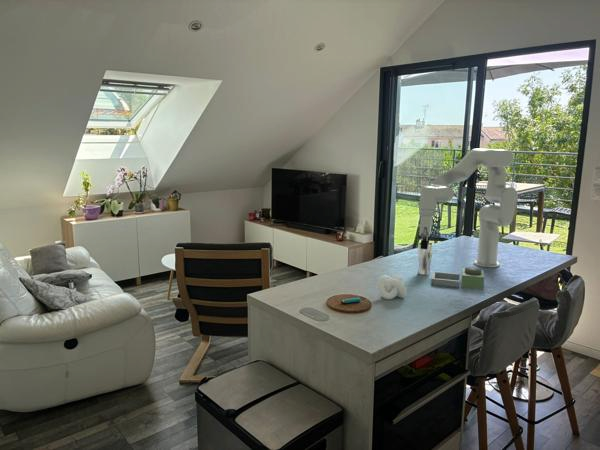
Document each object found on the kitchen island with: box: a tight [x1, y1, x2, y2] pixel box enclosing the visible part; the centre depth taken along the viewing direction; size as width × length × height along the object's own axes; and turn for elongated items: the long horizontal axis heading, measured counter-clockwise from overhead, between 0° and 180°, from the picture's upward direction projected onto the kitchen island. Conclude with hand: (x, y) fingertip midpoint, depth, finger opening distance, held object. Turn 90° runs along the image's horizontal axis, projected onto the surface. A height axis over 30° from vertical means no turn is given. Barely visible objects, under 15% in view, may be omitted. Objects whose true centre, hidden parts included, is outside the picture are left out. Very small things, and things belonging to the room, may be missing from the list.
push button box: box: [431, 266, 485, 291], centre depth 214 cm, size 12×22×8 cm, turn 71°
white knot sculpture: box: [377, 274, 408, 300], centre depth 196 cm, size 11×12×9 cm
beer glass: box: [417, 242, 434, 276], centre depth 229 cm, size 7×7×15 cm
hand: (424, 246), depth 227 cm, fingers open, 9 cm apart
